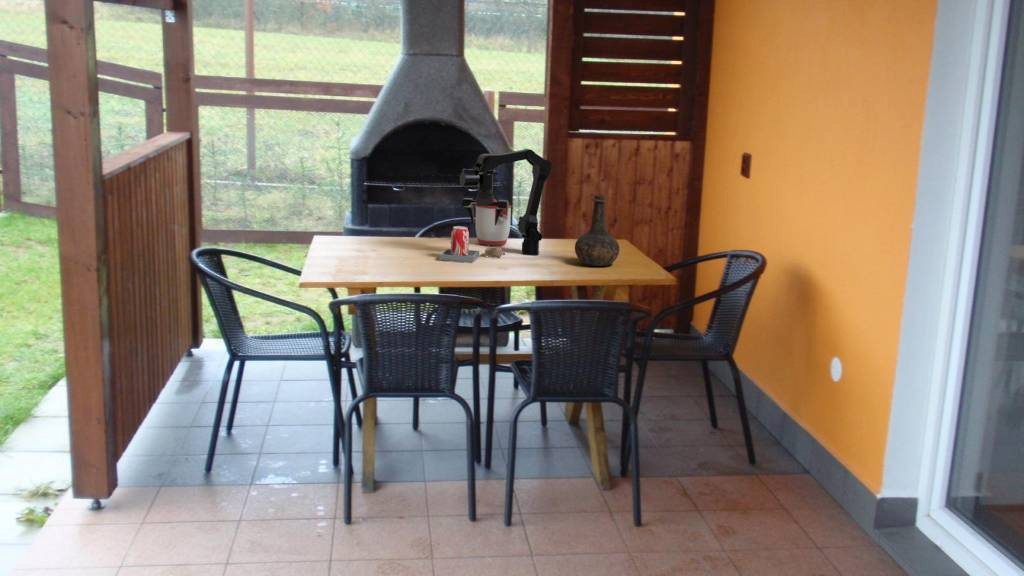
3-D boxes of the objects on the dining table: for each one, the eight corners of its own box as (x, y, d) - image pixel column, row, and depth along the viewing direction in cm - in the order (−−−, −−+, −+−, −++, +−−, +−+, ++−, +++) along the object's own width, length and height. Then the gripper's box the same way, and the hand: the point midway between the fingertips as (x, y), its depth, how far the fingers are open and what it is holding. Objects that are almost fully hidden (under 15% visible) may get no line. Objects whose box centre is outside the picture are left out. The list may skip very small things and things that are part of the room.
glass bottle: (610, 260, 409) (614, 192, 403) (624, 269, 392) (629, 198, 386) (568, 260, 405) (572, 191, 399) (580, 269, 388) (584, 197, 382)
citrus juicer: (486, 249, 422) (488, 201, 418) (467, 242, 437) (469, 196, 433) (518, 246, 430) (520, 200, 426) (499, 240, 445) (500, 195, 440)
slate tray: (479, 256, 404) (479, 250, 404) (473, 263, 391) (473, 256, 391) (446, 254, 406) (446, 248, 405) (439, 260, 393) (439, 254, 393)
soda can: (460, 259, 394) (461, 229, 392) (446, 256, 398) (447, 227, 396) (471, 257, 400) (472, 227, 397) (458, 254, 404) (459, 225, 401)
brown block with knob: (505, 254, 412) (505, 247, 411) (501, 258, 403) (502, 250, 403) (485, 253, 413) (486, 245, 412) (482, 257, 404) (482, 249, 404)
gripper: (458, 186, 394) (457, 226, 397) (505, 189, 391) (504, 228, 394) (464, 183, 404) (463, 221, 408) (509, 186, 402) (508, 224, 405)
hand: (484, 224), depth 403 cm, fingers open, 9 cm apart
